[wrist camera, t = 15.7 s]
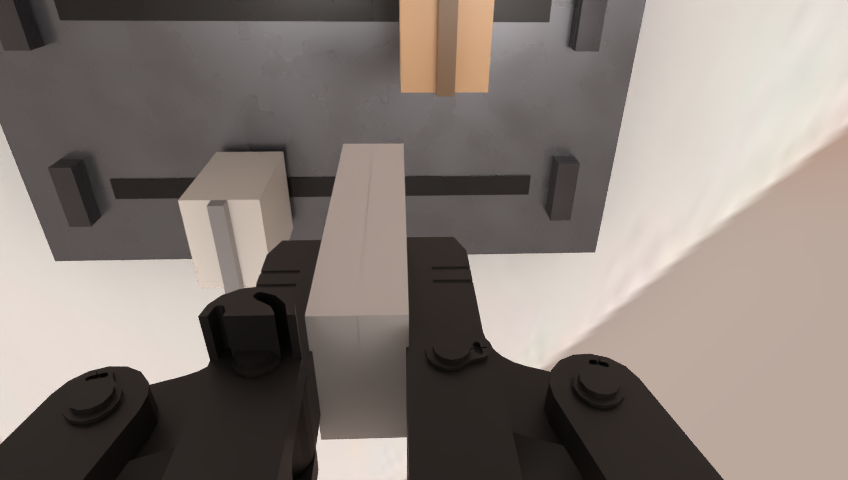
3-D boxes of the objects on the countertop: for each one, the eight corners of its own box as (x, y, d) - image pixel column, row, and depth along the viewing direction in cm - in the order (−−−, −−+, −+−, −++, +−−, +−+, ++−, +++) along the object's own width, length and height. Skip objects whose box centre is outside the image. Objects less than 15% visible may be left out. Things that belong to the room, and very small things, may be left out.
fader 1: (216, 151, 24) (173, 206, 20) (283, 151, 24) (256, 205, 20) (231, 229, 26) (195, 295, 22) (293, 228, 26) (270, 294, 22)
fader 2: (398, -46, 21) (399, -38, 16) (476, -46, 21) (500, -37, 16) (399, 60, 23) (400, 96, 18) (470, 61, 23) (490, 96, 18)
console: (-55, -111, 21) (-118, -117, 18) (645, -101, 22) (678, -105, 20) (75, 241, 29) (44, 271, 26) (583, 233, 30) (601, 262, 28)
